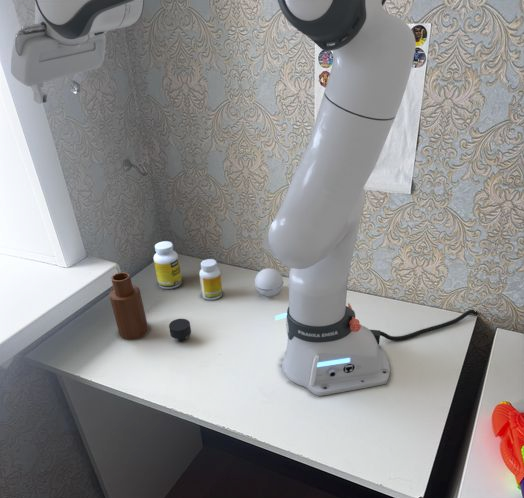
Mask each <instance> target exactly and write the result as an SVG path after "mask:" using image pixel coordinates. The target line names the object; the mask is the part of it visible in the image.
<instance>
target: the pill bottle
mask: <svg viewBox="0 0 524 498" xmlns="http://www.w3.org/2000/svg"><path fill="white" fill-rule="evenodd" d="M154 251H155V252H156V253H154V255H153V265H154V269H155V275H156V279H157V283H158V286H159V287H160V288H161V289H164V290H172V289H176V288H178V287H180V286H181V284H182V281H183V279H182V278H183V277H182V272H181V266H180V261H179V260H180V259H179V255H178V253H177V251H175V250H174V244H173V242H171V241H168V240H163V241H159V242H157V243H155V245H154Z"/></svg>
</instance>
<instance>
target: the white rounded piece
mask: <svg viewBox="0 0 524 498" xmlns="http://www.w3.org/2000/svg"><path fill="white" fill-rule="evenodd" d="M254 286H255V290H256V291H257V292H258V293H259V295H261V296H263V297H266V298H271V297H275V296H276V295H278V294H279V293H280V292H281V291H282V289H283V287H284V278H283V275H282V274H281V273H280V272H279V271H278V270H276V269H275V268H272V267H267V268H263V269H261V270H260V271H259V272H258V273H257V274H256V276H255V277H254ZM285 287H286V288H287V287H288V288H289V285H287V286H286V285H285Z"/></svg>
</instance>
